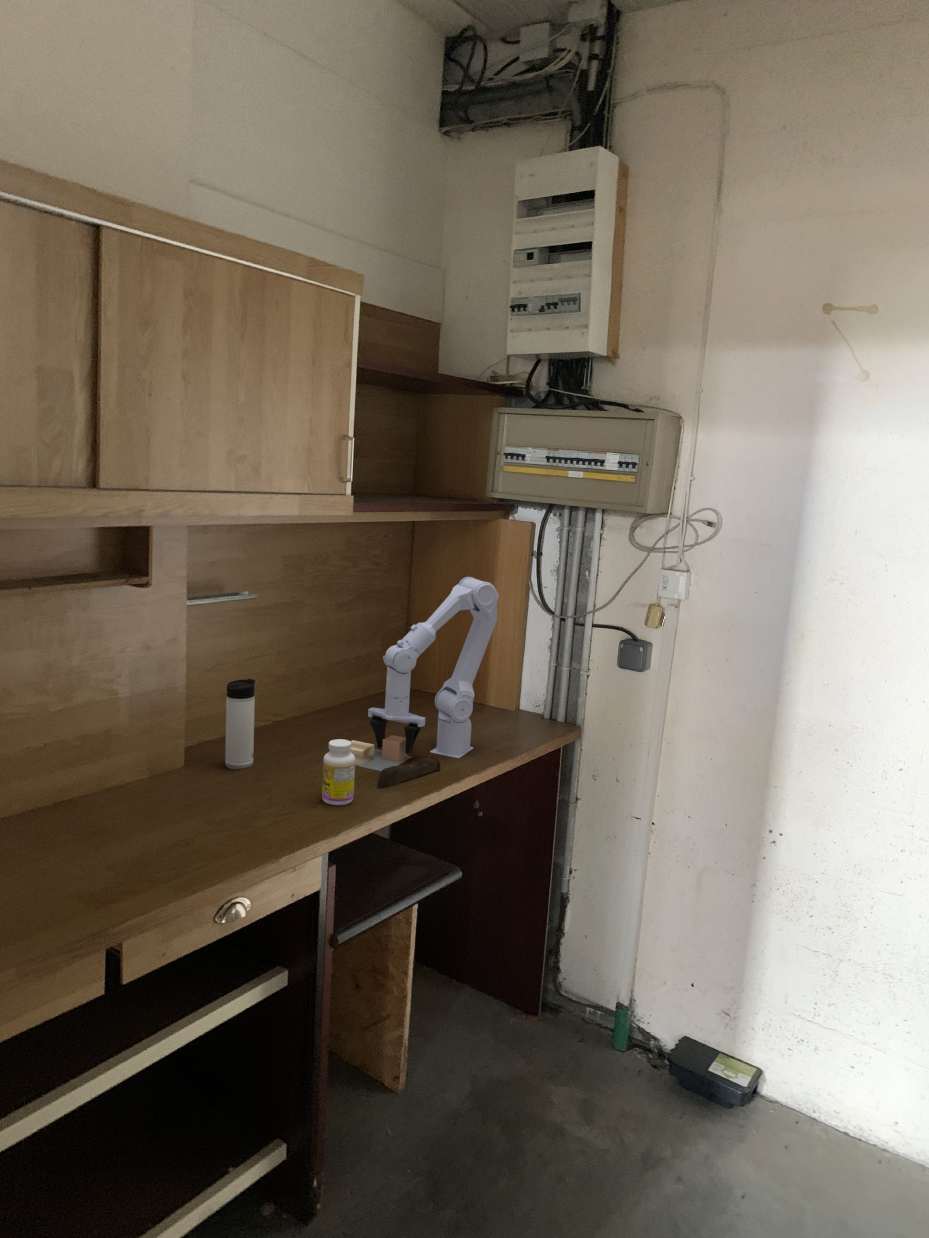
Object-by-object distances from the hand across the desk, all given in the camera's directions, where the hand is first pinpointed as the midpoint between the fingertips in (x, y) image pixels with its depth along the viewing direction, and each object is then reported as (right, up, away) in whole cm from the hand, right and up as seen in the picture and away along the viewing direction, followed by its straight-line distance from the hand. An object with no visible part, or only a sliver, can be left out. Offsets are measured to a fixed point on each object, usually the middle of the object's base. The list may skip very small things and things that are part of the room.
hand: (394, 749), depth 221 cm
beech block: (-9, -2, -3) cm, 10 cm away
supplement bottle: (-10, -7, -28) cm, 30 cm away
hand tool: (+4, -6, -13) cm, 15 cm away
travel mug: (-35, -2, -10) cm, 36 cm away
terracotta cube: (0, -2, 0) cm, 2 cm away
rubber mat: (-5, -2, -2) cm, 6 cm away
